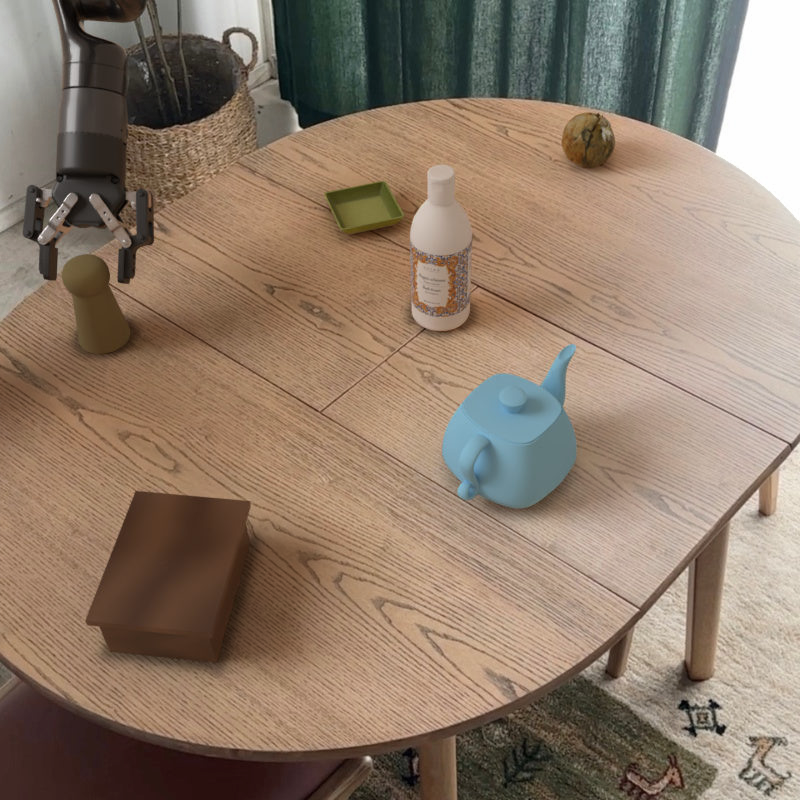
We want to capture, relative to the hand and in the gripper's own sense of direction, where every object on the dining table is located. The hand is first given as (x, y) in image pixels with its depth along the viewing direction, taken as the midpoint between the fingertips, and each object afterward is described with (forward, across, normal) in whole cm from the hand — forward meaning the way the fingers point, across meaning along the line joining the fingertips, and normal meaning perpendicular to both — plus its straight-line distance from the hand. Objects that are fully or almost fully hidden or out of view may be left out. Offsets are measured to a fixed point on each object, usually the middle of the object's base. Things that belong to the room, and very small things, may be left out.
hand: (86, 281), depth 119 cm
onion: (-22, +58, +35) cm, 71 cm away
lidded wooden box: (+30, +18, -18) cm, 40 cm away
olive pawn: (+6, 0, +6) cm, 9 cm away
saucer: (-12, +28, +24) cm, 39 cm away
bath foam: (+1, +39, +11) cm, 41 cm away
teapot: (+17, +48, -5) cm, 52 cm away
